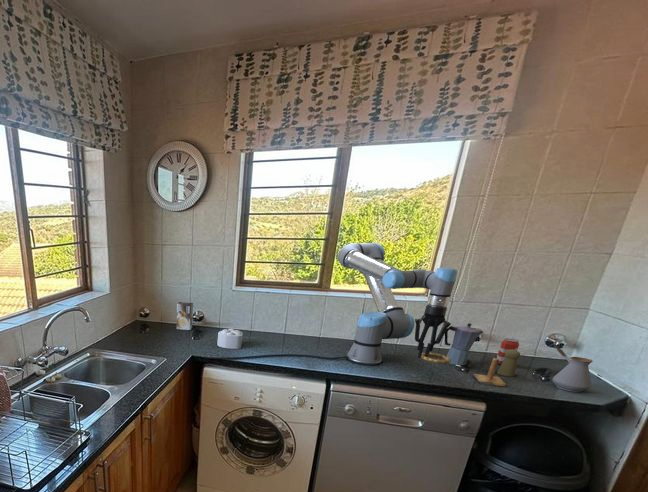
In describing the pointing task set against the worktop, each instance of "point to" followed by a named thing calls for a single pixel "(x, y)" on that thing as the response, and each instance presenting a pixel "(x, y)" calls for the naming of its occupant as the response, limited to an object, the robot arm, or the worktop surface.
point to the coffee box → (184, 315)
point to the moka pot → (461, 343)
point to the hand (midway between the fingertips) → (422, 357)
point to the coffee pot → (573, 374)
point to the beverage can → (506, 348)
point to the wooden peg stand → (491, 375)
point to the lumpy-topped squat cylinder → (230, 339)
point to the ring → (446, 359)
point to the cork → (509, 363)
